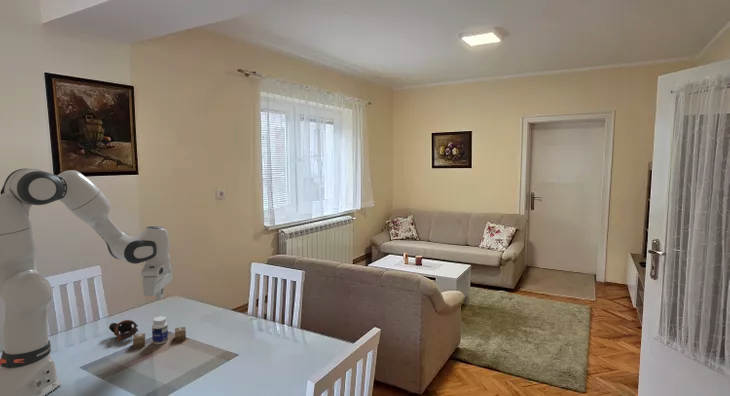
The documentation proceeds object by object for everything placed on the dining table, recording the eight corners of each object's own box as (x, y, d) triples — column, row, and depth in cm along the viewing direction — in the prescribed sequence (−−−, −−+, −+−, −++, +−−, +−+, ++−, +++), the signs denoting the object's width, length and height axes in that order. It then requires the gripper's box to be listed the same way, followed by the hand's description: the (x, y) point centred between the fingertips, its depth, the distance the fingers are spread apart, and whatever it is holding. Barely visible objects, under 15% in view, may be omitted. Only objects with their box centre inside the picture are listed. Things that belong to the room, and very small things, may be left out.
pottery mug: (143, 332, 174) (142, 320, 169) (130, 351, 166) (129, 338, 161) (115, 325, 173) (114, 313, 169) (101, 343, 165) (99, 331, 161)
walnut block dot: (144, 346, 160) (144, 336, 160) (133, 348, 159) (132, 338, 158) (145, 342, 164) (145, 332, 163) (134, 344, 162) (133, 334, 162)
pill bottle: (149, 343, 163) (148, 320, 162) (160, 337, 168) (159, 314, 167) (160, 345, 161) (159, 322, 160) (171, 339, 167) (170, 316, 166)
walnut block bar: (185, 339, 167) (185, 329, 167) (175, 341, 166) (175, 331, 165) (185, 335, 171) (185, 326, 170) (175, 337, 169) (174, 327, 169)
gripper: (160, 258, 171) (161, 289, 173) (138, 273, 151) (140, 308, 153) (175, 258, 172) (177, 289, 174) (156, 273, 152) (157, 308, 153)
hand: (159, 298), depth 163 cm, fingers closed
